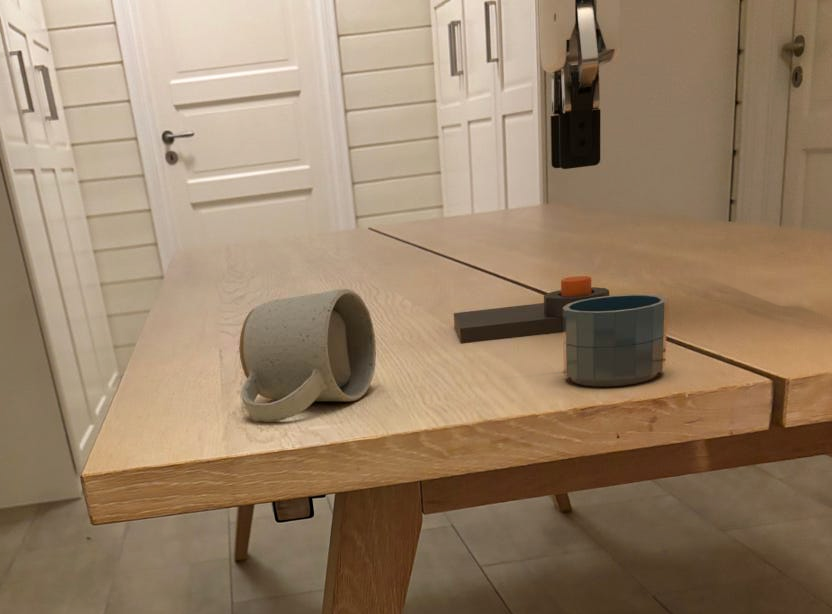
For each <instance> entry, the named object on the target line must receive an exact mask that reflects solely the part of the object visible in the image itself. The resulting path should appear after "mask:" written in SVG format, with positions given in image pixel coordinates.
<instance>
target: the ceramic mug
mask: <svg viewBox="0 0 832 614" xmlns="http://www.w3.org/2000/svg"><path fill="white" fill-rule="evenodd" d="M375 334H376V333H375V330H374V324H373V321H372V317H371V314H370V311H369V308H368V307H367V304H366V303H365V301H364V299H363V298H362V296H360V295H359V293H357V292H356V291H354V290H352V289H349V288H338V289H334V290H329V291H322V292H317V293H311V294H304V295H299V296H293V297H292V296H291V297H285V298H278V299H272V300H270V301H267V302H264V303H261V304H260V305H258V306H256V307H254V308H253V309H251V311H250V312H248V314H247V315H246V317H245V319H244V321H243V323H242V327H241V330H240V335H239V346H238V347H239V350H238V351H239V360H240V364H241V367H242V370H243V374H244V376H245V377H246V380H245V381H244V383H243V385H242V387H241V391H240V396H241V400H242V404H243V406H244V407H245V409H246V411H247V413H248V414H249V416H250V417H252V418H253V419H254V420H256V421H259V422H263V423H276V422H280V421H284V420H287V419H290V418H292V417H294V416H296V415H298V414H300V413H302V412H303V411H305V410H307V408H309V407H310V406H311V405H312V404H313V403H315V402H337V403H338V402H341V403H342V402H343V403H345V402H347V403H348V402H349V403H350V402H356V401H357V400H359V399H361V398H362V397H363V396H364V395H365V394H367V392H368V390H369V388H370V386H371V383H372V381H373V378H374V375H375V369H376V359H377V358H376V357H377V348H376V347H377V345H376V344H377V343H376V335H375ZM258 395H259V396H261V397H263V398H266V399H269V400H273V401H272V402H271V401H270V402H266V403H265V402H264V403H263V402H262V403H260V402H259V403H257V402H255V400H256V398H257V396H258Z"/></svg>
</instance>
